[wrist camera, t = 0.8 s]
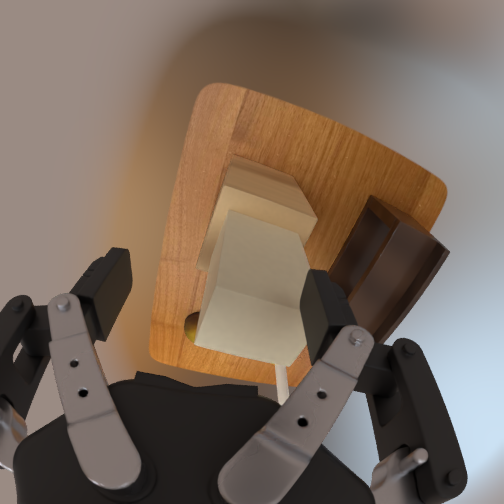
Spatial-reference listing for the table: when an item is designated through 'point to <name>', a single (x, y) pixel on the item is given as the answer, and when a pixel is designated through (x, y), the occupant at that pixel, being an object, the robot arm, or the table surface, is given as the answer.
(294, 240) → the snack box
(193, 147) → the table surface
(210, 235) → the block
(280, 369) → the candle
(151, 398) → the robot arm
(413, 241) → the shelf
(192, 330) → the fruit
